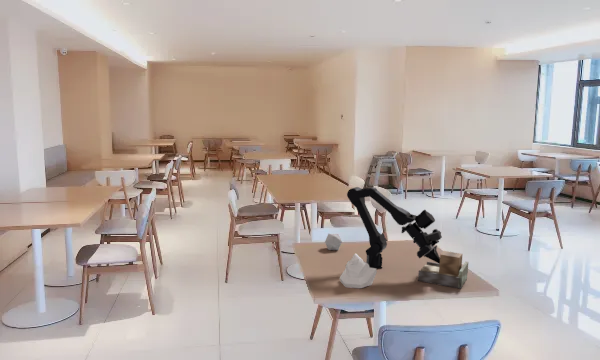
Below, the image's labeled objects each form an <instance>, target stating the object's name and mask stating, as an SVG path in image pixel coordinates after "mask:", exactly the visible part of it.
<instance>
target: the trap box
mask: <svg viewBox="0 0 600 360" xmlns="http://www.w3.org/2000/svg"><path fill="white" fill-rule="evenodd" d="M439 265H440V264H439V263H437V262H434V261H433V262H432V261H426V264H424V265H423V267H422V268H421V269H420V270H418V273H417V274H418V276H417V281H418V282H423V283H428V284H434V285H438V286H443V287H444V286H445V287H448V288H453V289H454V288H455V289H459V290H461V289H462V288H463V286H464V285H465V283H466V281H467V279H468V272H469V271H468V270H469V261H465V262H464V264H462V267H461V269H460V271H459V275H458V276H456V275H450V274H445V273H440V272H439Z"/></svg>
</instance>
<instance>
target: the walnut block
mask: <svg viewBox="0 0 600 360" xmlns="http://www.w3.org/2000/svg"><path fill="white" fill-rule="evenodd" d="M439 257H440V265H439V272H440V273H445V274H450V275H456V276H458V275H459V271H460V269H461V267H462V266H463V264H462V263H463V253H460V252H454V251H448V250H443V251H442V252H441V253H440V255H439Z"/></svg>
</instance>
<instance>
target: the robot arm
mask: <svg viewBox="0 0 600 360" xmlns="http://www.w3.org/2000/svg"><path fill="white" fill-rule="evenodd" d="M346 197H347V199H348V200H349V201H350V203H351V204H352V205H353V206H354V207H355V209H356V210H357V212H358V215H359V217H360V219H361V221H362V224H363V225H364V227H365V231H366V233H367V234H368V242H369V246H370V247H368V248H367V249H366V250H365V254H366V260H365V262H366V263H367V264H369V267H370V268H376V269H383V257H382V255H383V254H382V252H383V251H384V250H385V249H386V248H387V245H388V240H387V238H386V237H385V233H381V232H380V231H378V229H377V226H376V224H375V222H374V220H373V218H372V216H371V213H370V211H369V209H368V206H367V205H366V199H365V198H371V199H372V200H373V201H375V202H376V203H377V204H378V205H380V206H381V207H382V208H383V209H384V210H385V211H387V212H388V213H389V214H390V215H391V217H392V219H393V220H394V222H396V223H397V225H399V226H402V227H401V234H404V233H405V232H406V233H407V234H408V235H409V236H410V238H411V239H412V241H413V244H416V245H417V246H418V249H419V250H418V251H417V252H416V256H417V257H418V259H421V258H422V257H424V258H427V259H429V260H431V261H433V262H434V263H439V264H440V255H439V253H438V251H437V249H438V245H437V244H438V243H439V242H440V241H439V240H441V239H442V238H443V237H442V231H440V230H438V229H437V228H435V229H433V230H432V232H430V233H428V232H426V231H425V232H424V231H423V229H424V230H425V229H427V228H429V227H430V226H431V225H432V224H434V223H435V222H436V219H435V217H434V215H432V213H430V212H429V211H427V210H426V209H424V210H422V211H421V212H420V213H419V214H418V215H417V214H412V213H410V211H408V210H407V209H404V208H403V207H400V206H397V205H396V204H395V203H394V202H392V201H391V200H390V199H389V198H388V197H386V196H385V195H384V194H383V193H381V192H380V191H379V190H378V189H377V188H376V187H373V186H372V187H366V188H365V187H364V188H361V187H358V186H356V187H352V188H350V189H348V191H347V193H346ZM414 221H415V222H414ZM412 222H413V223H412Z"/></svg>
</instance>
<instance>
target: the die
mask: <svg viewBox="0 0 600 360" xmlns="http://www.w3.org/2000/svg"><path fill="white" fill-rule="evenodd" d="M324 243H325V244H324V245H325V246H326V248H327V250H328V251H339V250H340V247H341V244H342V243H343V241H342V238H341V236H340V234H339V233H328V234H327V236H326V239H325V240H324Z"/></svg>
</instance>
